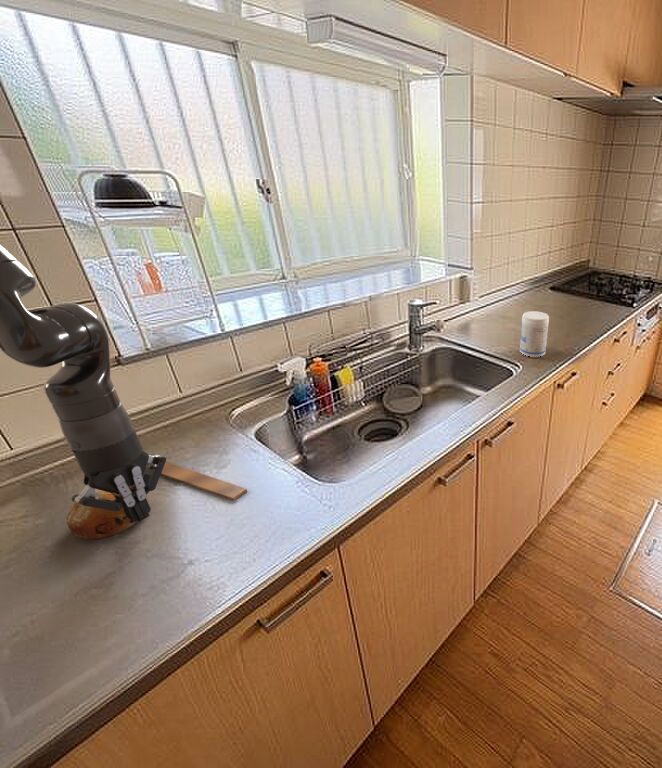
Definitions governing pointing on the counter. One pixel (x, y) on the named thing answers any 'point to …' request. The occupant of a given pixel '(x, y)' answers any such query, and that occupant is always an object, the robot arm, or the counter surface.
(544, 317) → the supplement tub
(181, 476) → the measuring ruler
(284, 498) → the counter surface
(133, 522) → the bread roll
